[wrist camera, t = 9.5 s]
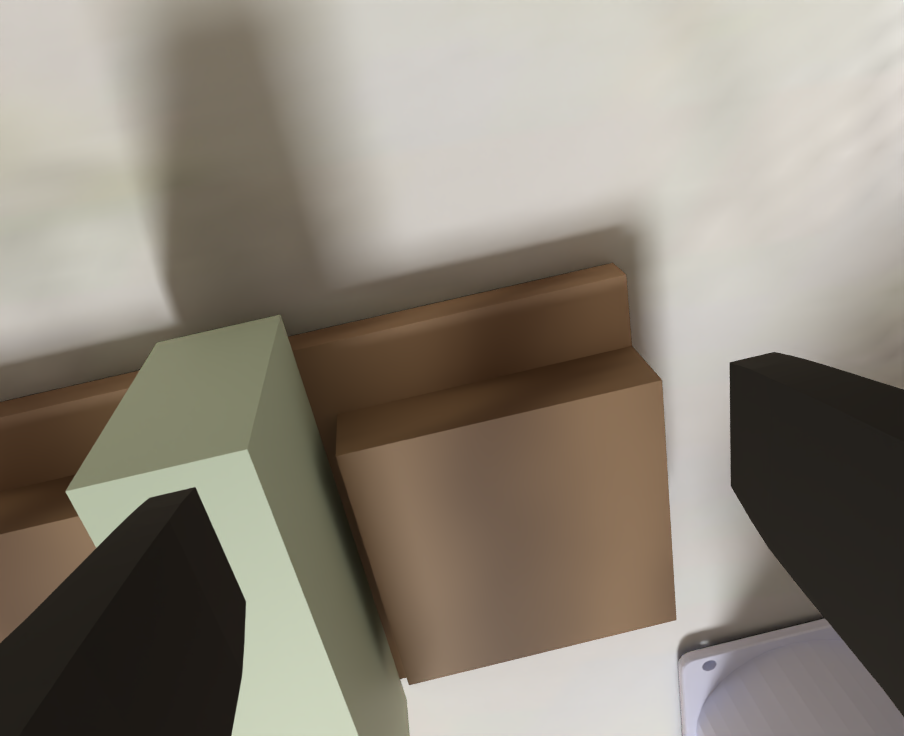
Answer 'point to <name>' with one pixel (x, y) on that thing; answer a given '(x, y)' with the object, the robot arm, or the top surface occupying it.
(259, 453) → the sage block
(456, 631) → the slotted plank
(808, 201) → the top surface
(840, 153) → the top surface
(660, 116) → the top surface
